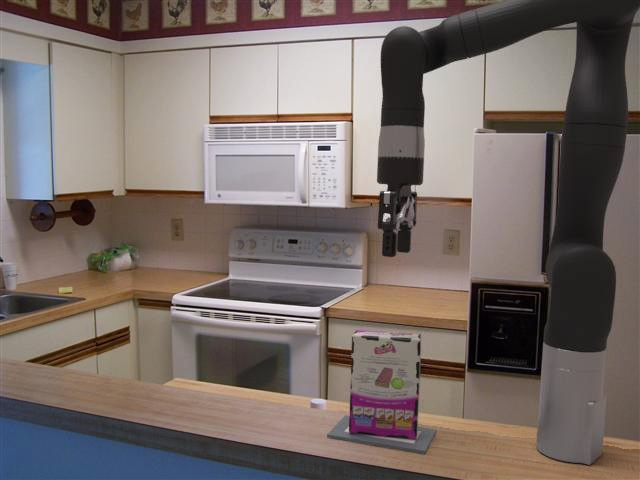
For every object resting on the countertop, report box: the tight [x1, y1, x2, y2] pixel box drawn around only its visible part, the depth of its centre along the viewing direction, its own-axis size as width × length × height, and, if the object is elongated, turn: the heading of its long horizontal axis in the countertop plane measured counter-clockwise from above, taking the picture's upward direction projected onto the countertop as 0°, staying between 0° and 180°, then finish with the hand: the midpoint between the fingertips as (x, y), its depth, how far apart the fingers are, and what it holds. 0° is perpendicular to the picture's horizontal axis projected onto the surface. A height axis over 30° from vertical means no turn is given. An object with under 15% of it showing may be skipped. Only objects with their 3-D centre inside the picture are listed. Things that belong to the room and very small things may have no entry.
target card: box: [326, 414, 437, 455], centre depth 112 cm, size 16×10×1 cm, turn 70°
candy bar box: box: [348, 329, 422, 439], centre depth 111 cm, size 11×5×16 cm, turn 80°
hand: (396, 254), depth 112 cm, fingers open, 8 cm apart
